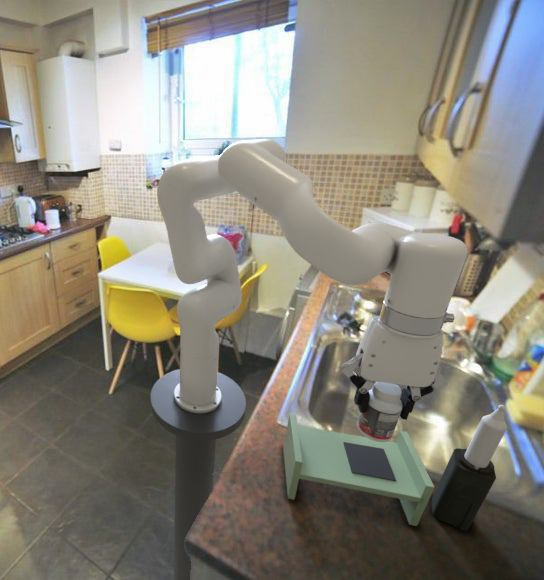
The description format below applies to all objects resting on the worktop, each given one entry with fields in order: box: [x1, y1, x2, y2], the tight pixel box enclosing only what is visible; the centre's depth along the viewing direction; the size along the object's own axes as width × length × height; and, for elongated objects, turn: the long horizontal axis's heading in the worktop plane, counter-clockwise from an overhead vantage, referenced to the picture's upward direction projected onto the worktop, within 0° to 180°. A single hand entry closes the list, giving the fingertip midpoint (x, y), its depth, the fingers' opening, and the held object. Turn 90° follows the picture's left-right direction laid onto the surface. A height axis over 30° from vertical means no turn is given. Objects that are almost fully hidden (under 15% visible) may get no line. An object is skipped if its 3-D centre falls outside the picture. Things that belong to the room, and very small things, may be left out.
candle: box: [431, 404, 508, 531], centre depth 60 cm, size 5×5×25 cm
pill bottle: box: [356, 382, 403, 442], centre depth 62 cm, size 5×5×10 cm
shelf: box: [282, 413, 436, 527], centre depth 69 cm, size 12×21×10 cm, turn 75°
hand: (380, 409), depth 62 cm, fingers closed on pill bottle, 5 cm apart
